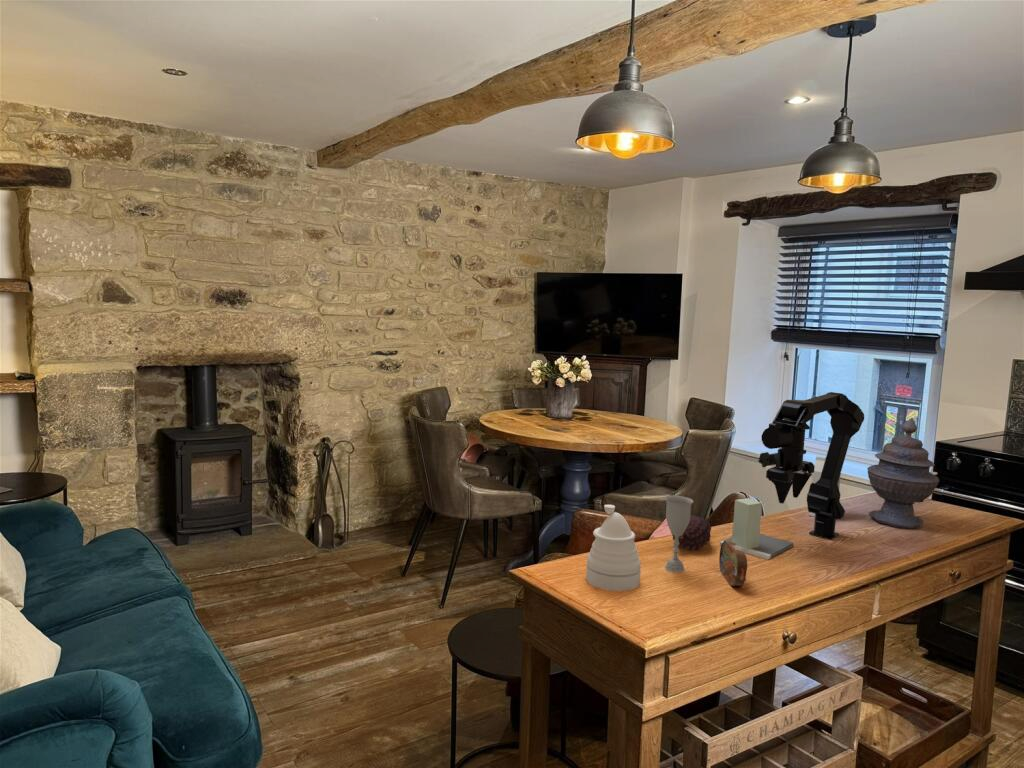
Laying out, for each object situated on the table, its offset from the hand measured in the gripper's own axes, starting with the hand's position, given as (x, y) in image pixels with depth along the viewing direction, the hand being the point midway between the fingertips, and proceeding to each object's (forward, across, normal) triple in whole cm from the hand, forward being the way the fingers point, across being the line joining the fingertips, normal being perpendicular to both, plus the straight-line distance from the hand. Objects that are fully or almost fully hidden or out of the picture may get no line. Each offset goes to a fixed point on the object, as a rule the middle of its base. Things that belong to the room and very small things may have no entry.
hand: (788, 500), depth 198 cm
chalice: (+13, +40, -11) cm, 44 cm away
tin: (+13, +35, +2) cm, 37 cm away
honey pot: (+13, +58, -17) cm, 62 cm away
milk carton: (+13, -38, -4) cm, 40 cm away
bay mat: (+13, +7, -5) cm, 16 cm away
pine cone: (+13, +22, -16) cm, 31 cm away
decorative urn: (+13, -50, +15) cm, 54 cm away
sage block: (+12, +12, -6) cm, 18 cm away
